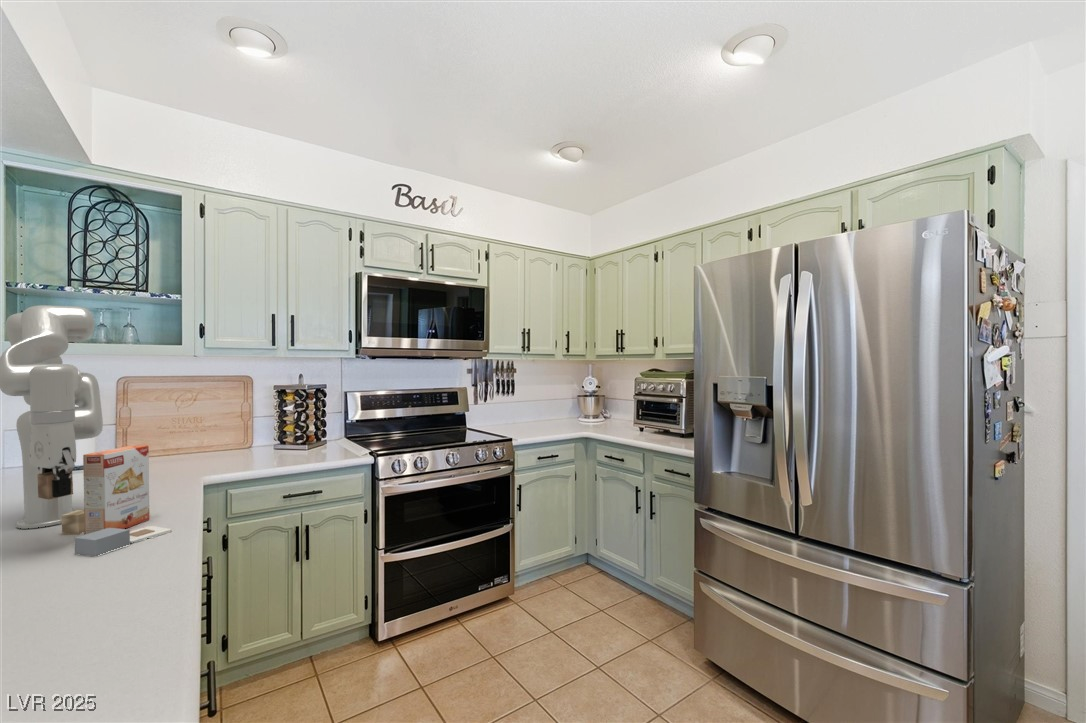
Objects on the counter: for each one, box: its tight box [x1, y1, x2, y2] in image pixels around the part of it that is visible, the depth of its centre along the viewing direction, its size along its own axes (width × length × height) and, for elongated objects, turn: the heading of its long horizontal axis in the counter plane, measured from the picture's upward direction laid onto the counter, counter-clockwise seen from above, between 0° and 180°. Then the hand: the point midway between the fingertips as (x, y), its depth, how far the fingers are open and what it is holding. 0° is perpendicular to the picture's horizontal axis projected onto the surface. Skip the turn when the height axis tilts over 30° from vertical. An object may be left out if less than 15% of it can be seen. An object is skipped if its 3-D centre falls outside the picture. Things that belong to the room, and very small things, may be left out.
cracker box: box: [82, 444, 151, 535], centre depth 132 cm, size 14×6×21 cm, turn 179°
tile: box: [130, 525, 173, 544], centre depth 125 cm, size 9×9×1 cm
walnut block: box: [37, 470, 74, 500], centre depth 118 cm, size 4×4×6 cm
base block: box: [73, 528, 131, 557], centre depth 116 cm, size 7×7×4 cm
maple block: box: [61, 509, 85, 535], centre depth 130 cm, size 4×4×5 cm
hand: (55, 493), depth 118 cm, fingers closed on walnut block, 4 cm apart
